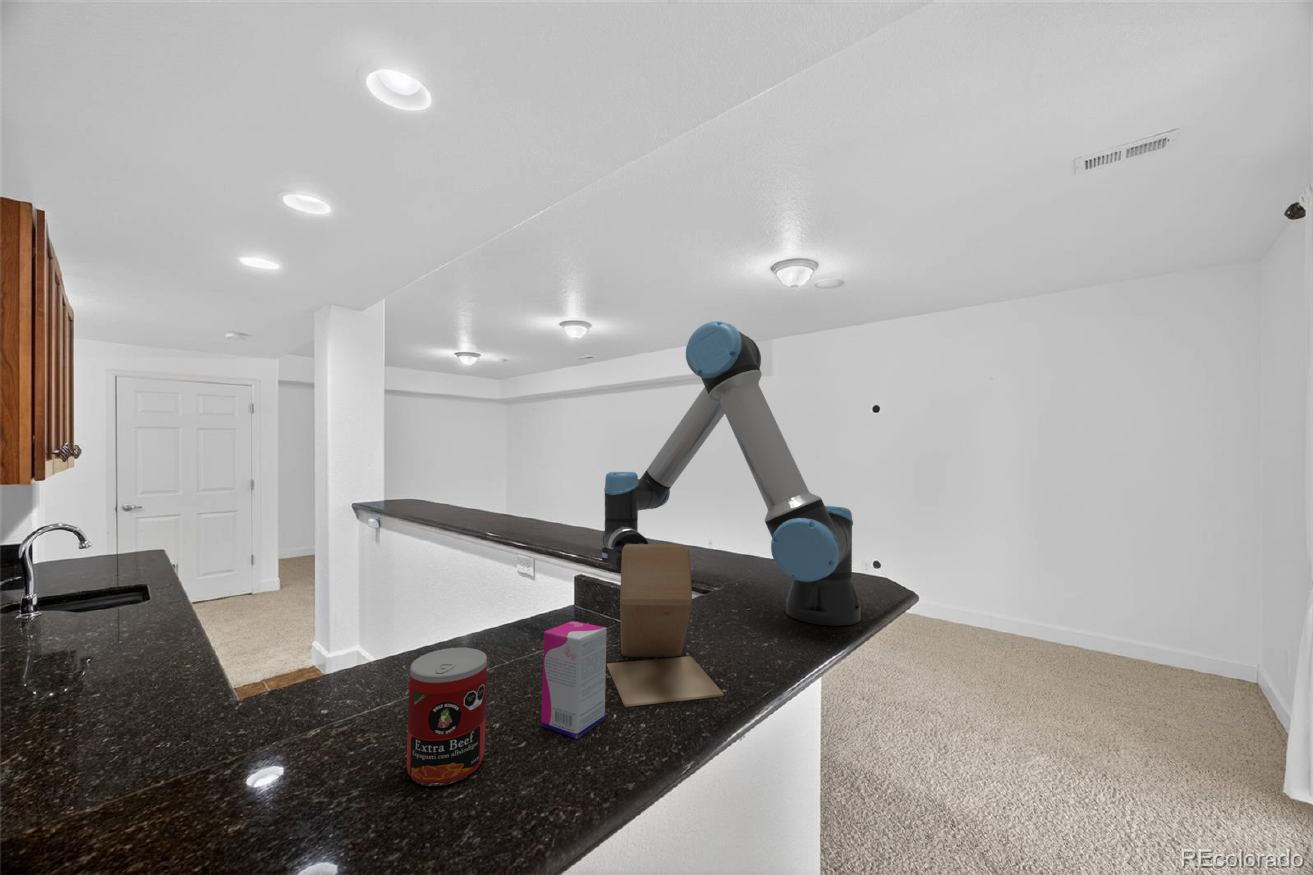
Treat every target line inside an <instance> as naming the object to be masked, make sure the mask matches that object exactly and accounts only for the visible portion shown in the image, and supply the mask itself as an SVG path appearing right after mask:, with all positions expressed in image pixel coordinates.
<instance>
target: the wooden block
mask: <svg viewBox="0 0 1313 875" xmlns="http://www.w3.org/2000/svg"><path fill="white" fill-rule="evenodd" d="M690 558H691V557H690V550H689V548H688V546H687V545H685V544H665V543H663V544H662V543H660V544H659V543H658V544H657V543H656V544H655V543H654V544H653V543H650V544H649V543H648V544H627V545H625V546H624V547H623V549H622V560H621V570H620V591H619V592H620V593H619V595H620V596H619V614H620V617H619V618H620V623H619V624H620V650H621V653H622V656H626V657H632V658H633V657H635V658H636V657H638V658H639V657H645V658H647V657H650V658H651V657H653V658H654V657H655V658H656V657H658V658H659V657H662V658H664V657H665V658H677V657H680V656H681V655H682V652H683V649H684V645H685V644H684V643H685V639H686V635H687V630H688V625H689V620H690V616H691V612H692V607H693V594H692V593H693V592H692V591H693V589H692V576H691V574H692V573H691V559H690Z"/></svg>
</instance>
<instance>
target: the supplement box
mask: <svg viewBox="0 0 1313 875" xmlns="http://www.w3.org/2000/svg"><path fill="white" fill-rule="evenodd" d="M607 629H608V628H607V627H604V626H598V625H594V624H590V623H584V622H580V621H574V620H571V621H569V622H566V623H563V624H560V625H559V626H556V627H553V628H550V629H547V630H545V631H543V656H542V658H543V663H542V686H541V687H542V688H541V691H542V692H541V693H542V694H541V717H540V719H541V721H540V722H541V723H540V724H541V725H540V726H541V727H543V728H545V729H547V730H551V731H553V732H557V733H559V734H562V735H565V736H567V737H571V738H573V739H577V740H578V739H579V738H581V737H582V736H583V735H584V734H586V733H588V732H589V731H590V730H591V729H593V728H594V727H596V726H598V725H599V724H600V723H602V722H603V721H605V717H606V716H605V715H606V676H607V675H606V671H607V669H606V667H607Z"/></svg>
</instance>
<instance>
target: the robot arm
mask: <svg viewBox="0 0 1313 875" xmlns="http://www.w3.org/2000/svg"><path fill="white" fill-rule="evenodd" d="M685 360H686V363H687V366H688V368H689V369H690V370H691V371H692V373H694V375H696V376H698V377H700V378H701V381H702V384H703V386H704V387H703V389H702V390H701V392H700V393H699V395H698V396H697V397H696V399H695V400H694V401H693V402H692V404H691V406H690V407H689V409H688V410H687V411H686V413H685V415H683V417H682V419H681V420H680V421H679V423H678V424H677V425H676V427H675V429H674V430H673V431H672V433H671V434H670V436H669V437H668V438H667V440H666V441H665V443H664V444H663V446H662V447H661V449H659V451H658V453H657V454H656V456H655V457H654V458H653V459H652V461H651V463H650V464H649V465H648V467H647V469H645V470H646V471H644V472H643V474H642V476H641V477H640V478H639V477H638V474H637V472H635V471H609V472H608V473H606V475H605V480H604V481H605V482H604V483H605V485H604V488H603V490H604V530H603V533H602V544H603V547H602V548H601V561H602V562H604V563H607V564H609V565H611V566H612V567H613V568H615V569H617V571H618V570H619V571H621V560H622V549H623V547H624V546H625V545H627V544H649V542H648V540H647V538H646V537H645V536H644V535H643V534H641V533H640V532H639V530H638V529H639V528H638V525H639V523H638V522H639V521H638V520H639V511H643V510H653V509H658V508H660V507H663V506H665V505H666V503H667V502H668V501H669V499H670V494H671V491H670V490H671V488H672V487H673V485H674V484H675V483H676V481H678V479H679V477H680V476H681V474H682V473H683V472H684V470H685V469H686V467H687V466H688V465H689V464H690V462H691V460H693V458H694V456H696V454H697V453H698V451H699V450H700V449H701V447H702V445H703V444H704V443H705V441H706V440H707V439H708V437H709V436H710V435H711V433H712V432H714V431H713V430H715V428H716V427H717V425H718V424H719V422H720V421H721V420H722V418H723V417H724V415H725V416H726V419H727V422H728V424H729V426H730V428H731V430H732V432H733V434H734V437H735V439H736V441H737V443H738V446H739V448H740V450H741V452H742V455H743V457H744V459H745V461H746V463H747V466H748V468H749V470H750V473H751V474H752V478H753V479H754V481H755V484H756V486H757V488H758V490H759V493H760V494H761V497H762V499H763V501H764V503H765V506H766V508H767V513H766V515H765V518H764V523H765V525H766V527H767V529H768V532H769V534H770V537H771V541H770V544H771V545H770V549H771V551H770V552H771V556H772V558H773V561H774V563H775V564H776V566H777V567H778V569H779V570H780V571H781V572H783V574H785V575H786V576H788V577H789V578H791V579H793V580H792V583H791V585H790V589H789V591H788V595H787V598H786V600H785V613H786V614H787V616H789V617H791V618H792V619H795V620H797V621H800V622H804V623H809V624H813V625H820V626H831V627H833V626H835V627H837V626H838V627H842V626H851V625H855V624H858V623H859V622H861V620H862V617H861V616H862V614H861V613H862V612H861V610H862V609H861V605H860V602H859V600H858V599H859V598H858V596H857V593H856V589H855V588H854V583H853V573H852V572H853V570H852V569H853V525H854V520H853V514H852V511H851V510H850V509H849V508H848V507H844V506H833V505H825V503H824V502H823V499H822V497H821V496H818V495H815V493H811V492H810V491H809V489H808V486H807V484H806V483H805V480H804V478H803V476H802V474H801V472H800V469H799V467H798V465H797V463H796V461H795V459H794V457H793V454H792V453H791V451H790V448H789V447H788V444H787V441H786V440H785V438H784V436H783V433H782V431H781V429H780V427H779V425H778V423H777V421H776V418H775V417H774V415H773V412H772V410H771V408H770V406H769V404H768V401H767V400H766V398H765V395H764V393H763V391H762V389H761V387H760V385H759V383H760V380H761V377H762V374H763V372H762V370H761V369H760V368H761V363H762V355H761V351H760V349H759V347H758V345H757V343H756V341H754V339H752V338H750V337H749V336H748V335H745V333H742V332H740V331H739V330H738V329H737V328H736V327H735V326H733V325H732V324H730V323H726V322H723V321H709V322H707V323H703V325H701V326H699V327H698V328H697V329H695V330H694V332H693V333H692V334H691V336H690V338H689V340H688V342H687V344H686V347H685Z"/></svg>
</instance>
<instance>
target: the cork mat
mask: <svg viewBox="0 0 1313 875" xmlns="http://www.w3.org/2000/svg"><path fill="white" fill-rule="evenodd" d="M606 667H607V669H608V671H609V674H610V676H611V679H612V681H613V683H614V685H615V687H616V689H617V692H618V694H619V697H620V699H621V701H622V703H623V706H624V707H626V708H627V707H628V708H629V707H636V706H645V705H655V704H656V705H657V704H661V703H663V704H664V703H671V702H672V703H673V702H683V701H691V700H698V699H699V700H700V699H701V700H702V699H709V698H717V697H724V696H725V694H724V692H723V691H722V690H721V689H720V687H718V686H717V684H716V683H715V681H713V679H712V678H711V677H710V676H709V675H708V674H707V673H706V672H705V670H704V669H703V668H702V667H701V666H700V665H699V663H698V662H696V660H695V658H694V657H692V656H681V657H680V656H677V657H665V658H656V659H645V660H643V659H642V660H635V661H634V660H632V661H623V662H612V663H611V662H610V663H606Z"/></svg>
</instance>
